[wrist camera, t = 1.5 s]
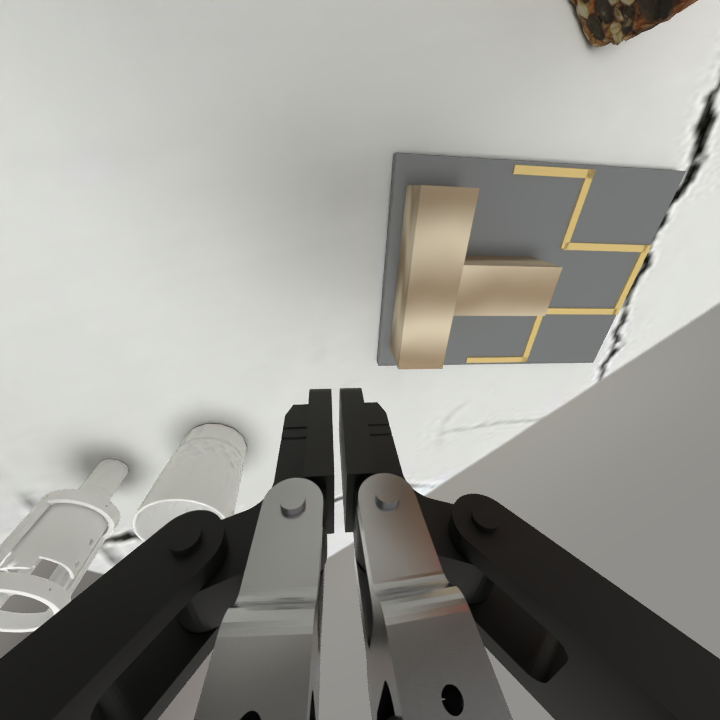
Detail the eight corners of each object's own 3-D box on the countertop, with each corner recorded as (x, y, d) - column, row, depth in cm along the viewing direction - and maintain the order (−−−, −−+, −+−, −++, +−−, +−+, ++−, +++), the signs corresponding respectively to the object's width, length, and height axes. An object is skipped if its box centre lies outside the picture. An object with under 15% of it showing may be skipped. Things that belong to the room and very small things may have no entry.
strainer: (62, 459, 34) (-97, 627, 21) (115, 438, 33) (-17, 598, 20) (111, 495, 38) (0, 658, 25) (160, 476, 37) (71, 634, 24)
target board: (393, 153, 23) (397, 152, 22) (673, 171, 26) (688, 170, 25) (376, 360, 32) (378, 366, 31) (586, 358, 35) (594, 363, 34)
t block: (406, 185, 23) (421, 185, 20) (552, 192, 25) (589, 193, 21) (389, 348, 30) (398, 369, 27) (504, 347, 32) (526, 367, 28)
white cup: (250, 419, 34) (226, 499, 25) (253, 469, 38) (232, 552, 29) (174, 417, 33) (121, 499, 24) (184, 468, 37) (142, 555, 28)
